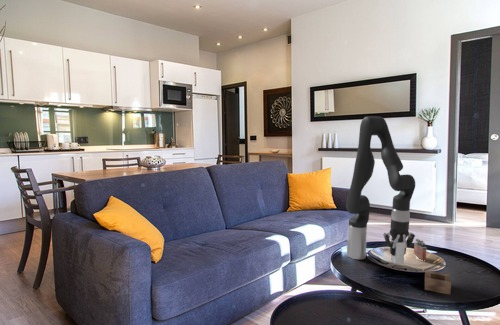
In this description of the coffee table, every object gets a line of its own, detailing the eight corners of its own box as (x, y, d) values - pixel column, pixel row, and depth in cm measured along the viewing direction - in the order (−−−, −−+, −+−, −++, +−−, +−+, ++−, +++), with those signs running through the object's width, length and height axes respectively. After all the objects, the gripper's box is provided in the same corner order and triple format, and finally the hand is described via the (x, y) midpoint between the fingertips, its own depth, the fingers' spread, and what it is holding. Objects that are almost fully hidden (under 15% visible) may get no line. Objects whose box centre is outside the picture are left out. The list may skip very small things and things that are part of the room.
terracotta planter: (427, 261, 168) (428, 243, 166) (421, 262, 167) (422, 243, 166) (417, 255, 176) (418, 237, 174) (411, 255, 175) (412, 237, 174)
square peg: (395, 263, 146) (396, 242, 145) (390, 259, 150) (392, 239, 149) (403, 263, 147) (405, 242, 145) (399, 259, 150) (400, 239, 149)
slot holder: (424, 290, 140) (425, 279, 139) (424, 280, 148) (425, 270, 148) (450, 295, 136) (451, 284, 135) (448, 285, 144) (449, 274, 143)
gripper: (388, 221, 142) (386, 258, 144) (420, 221, 142) (417, 258, 145) (380, 216, 149) (378, 251, 151) (411, 216, 150) (408, 251, 152)
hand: (397, 254), depth 148 cm, fingers closed on square peg, 4 cm apart
